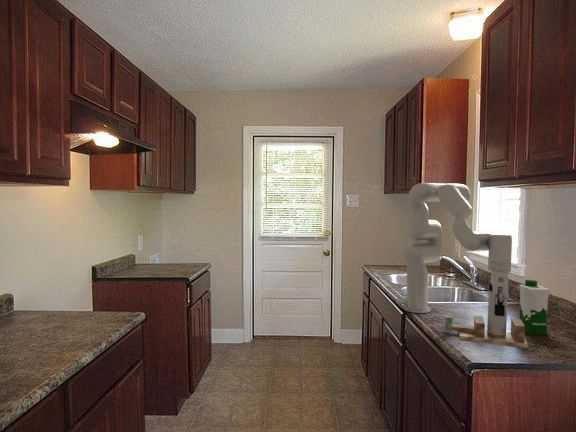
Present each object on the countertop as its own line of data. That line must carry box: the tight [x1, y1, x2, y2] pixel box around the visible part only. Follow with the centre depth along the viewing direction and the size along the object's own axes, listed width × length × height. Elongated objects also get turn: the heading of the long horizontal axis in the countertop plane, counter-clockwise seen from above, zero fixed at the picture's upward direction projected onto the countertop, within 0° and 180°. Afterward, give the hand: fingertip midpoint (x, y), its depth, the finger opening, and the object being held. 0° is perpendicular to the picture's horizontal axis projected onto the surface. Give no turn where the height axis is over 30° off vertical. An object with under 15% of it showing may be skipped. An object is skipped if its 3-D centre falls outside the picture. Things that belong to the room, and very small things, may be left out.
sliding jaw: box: [444, 313, 486, 337], centre depth 151 cm, size 13×10×5 cm
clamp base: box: [458, 317, 529, 349], centre depth 147 cm, size 22×12×7 cm, turn 67°
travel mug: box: [486, 282, 510, 338], centre depth 146 cm, size 6×7×20 cm
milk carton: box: [518, 279, 551, 336], centre depth 155 cm, size 9×9×20 cm
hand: (497, 312), depth 146 cm, fingers open, 9 cm apart
